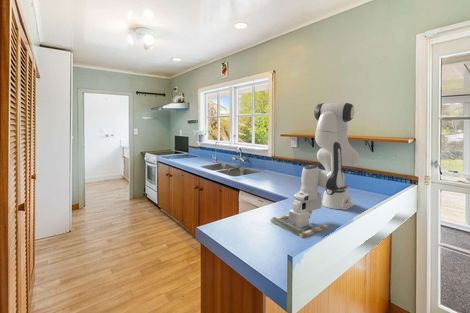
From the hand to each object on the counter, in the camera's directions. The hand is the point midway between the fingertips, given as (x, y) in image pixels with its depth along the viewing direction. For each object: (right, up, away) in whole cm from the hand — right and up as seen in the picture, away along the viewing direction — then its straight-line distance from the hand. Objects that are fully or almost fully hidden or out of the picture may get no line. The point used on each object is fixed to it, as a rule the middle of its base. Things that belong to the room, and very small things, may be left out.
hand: (307, 218), depth 135 cm
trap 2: (-4, -4, -10) cm, 12 cm away
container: (-6, -3, -3) cm, 7 cm away
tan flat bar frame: (-6, -3, -4) cm, 8 cm away
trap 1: (-12, -2, +1) cm, 12 cm away
